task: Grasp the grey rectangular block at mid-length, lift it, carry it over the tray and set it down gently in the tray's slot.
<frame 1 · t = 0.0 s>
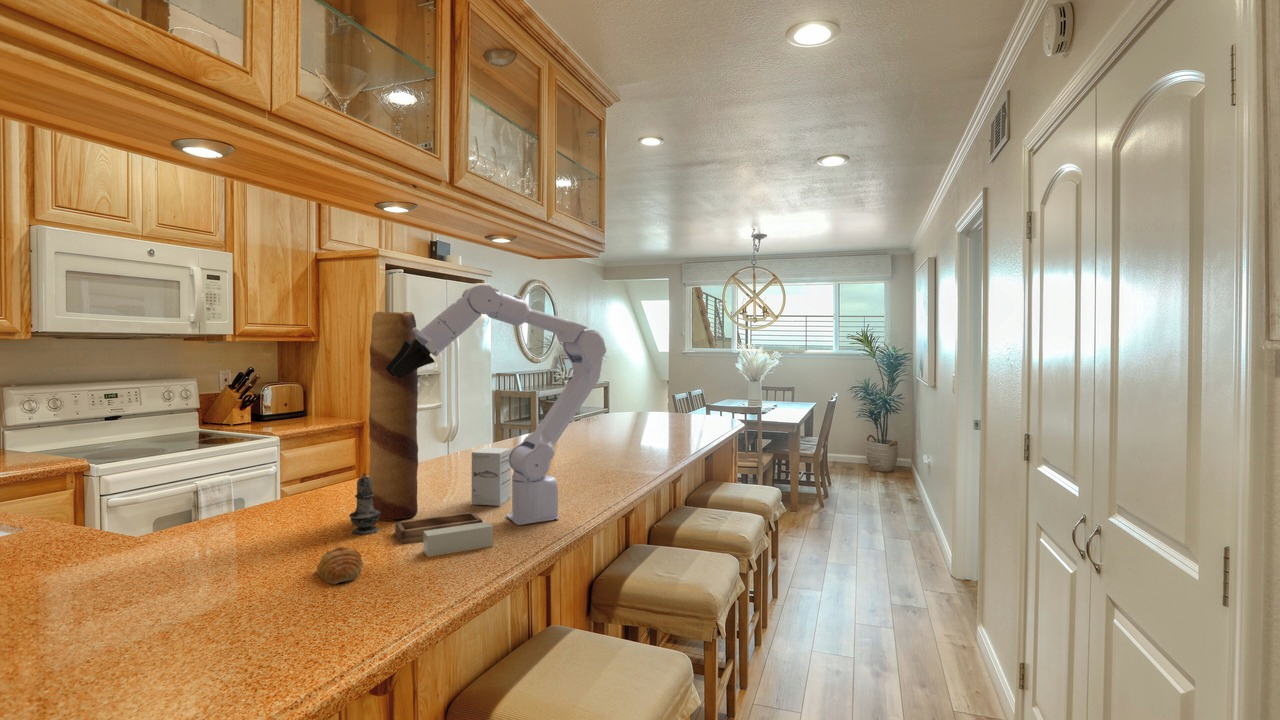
hand: (391, 373, 122), 32 cm above the countertop, tool tilted 50°, fingers open, 7 cm apart
supplement box: (491, 502, 151), on the countertop
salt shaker: (365, 532, 128), on the countertop
tray: (439, 531, 127), on the countertop
pastry: (342, 575, 105), on the countertop
wafer roll: (394, 516, 139), on the countertop
grey rectangular block: (458, 549, 117), on the countertop
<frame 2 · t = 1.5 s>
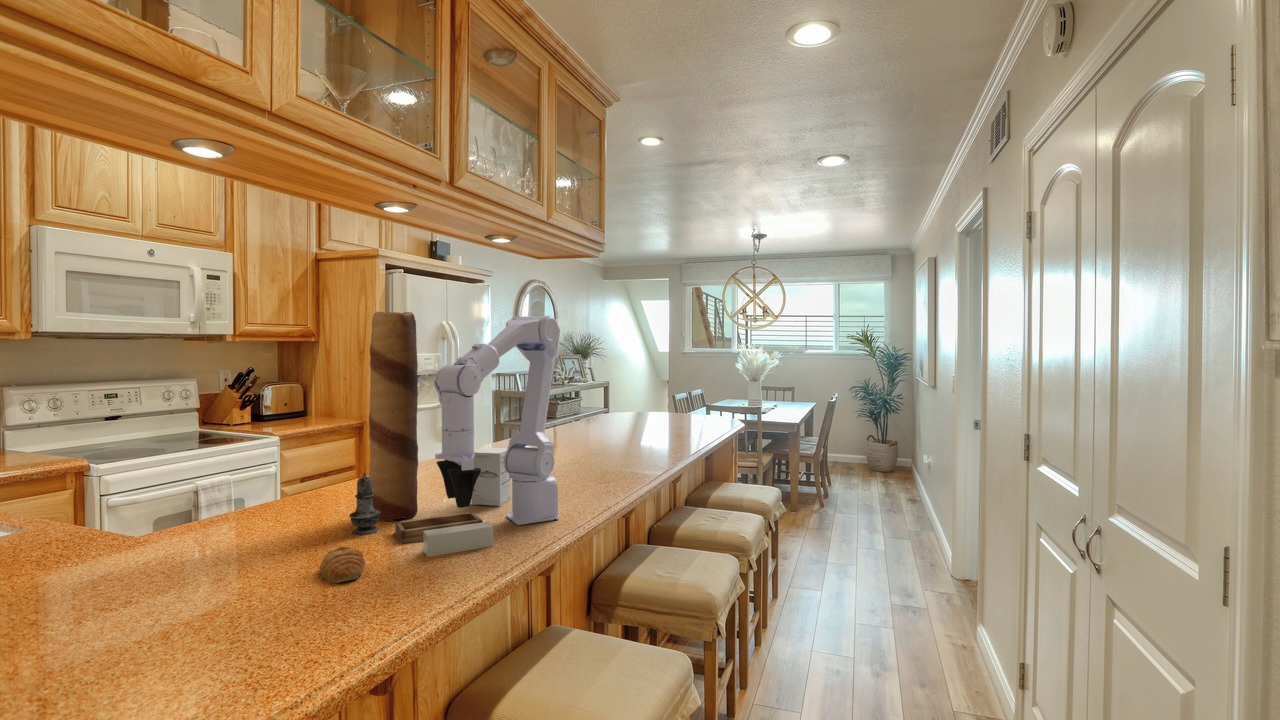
hand: (458, 502, 117), 9 cm above the countertop, tool pointing down, fingers open, 7 cm apart
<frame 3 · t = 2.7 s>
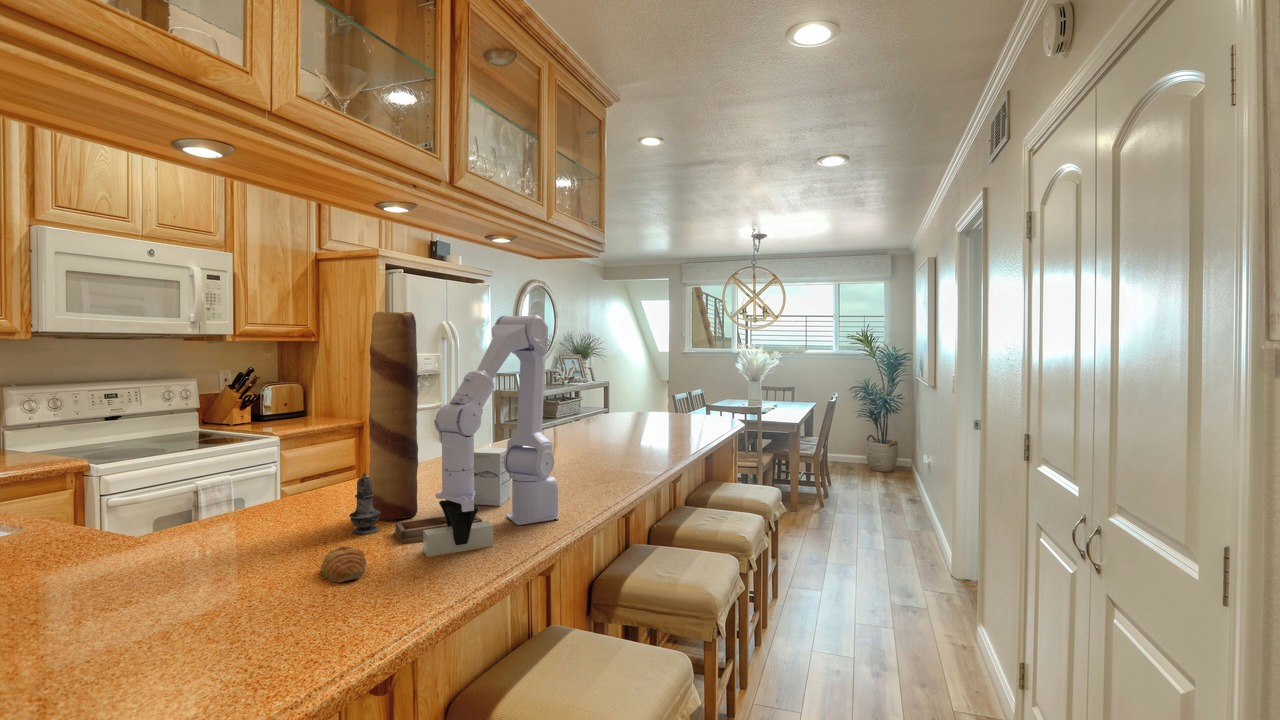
hand: (458, 540, 117), 1 cm above the countertop, tool pointing down, fingers closed on grey rectangular block, 3 cm apart
grey rectangular block: (458, 549, 117), on the countertop, touching gripper
everything else where it was.
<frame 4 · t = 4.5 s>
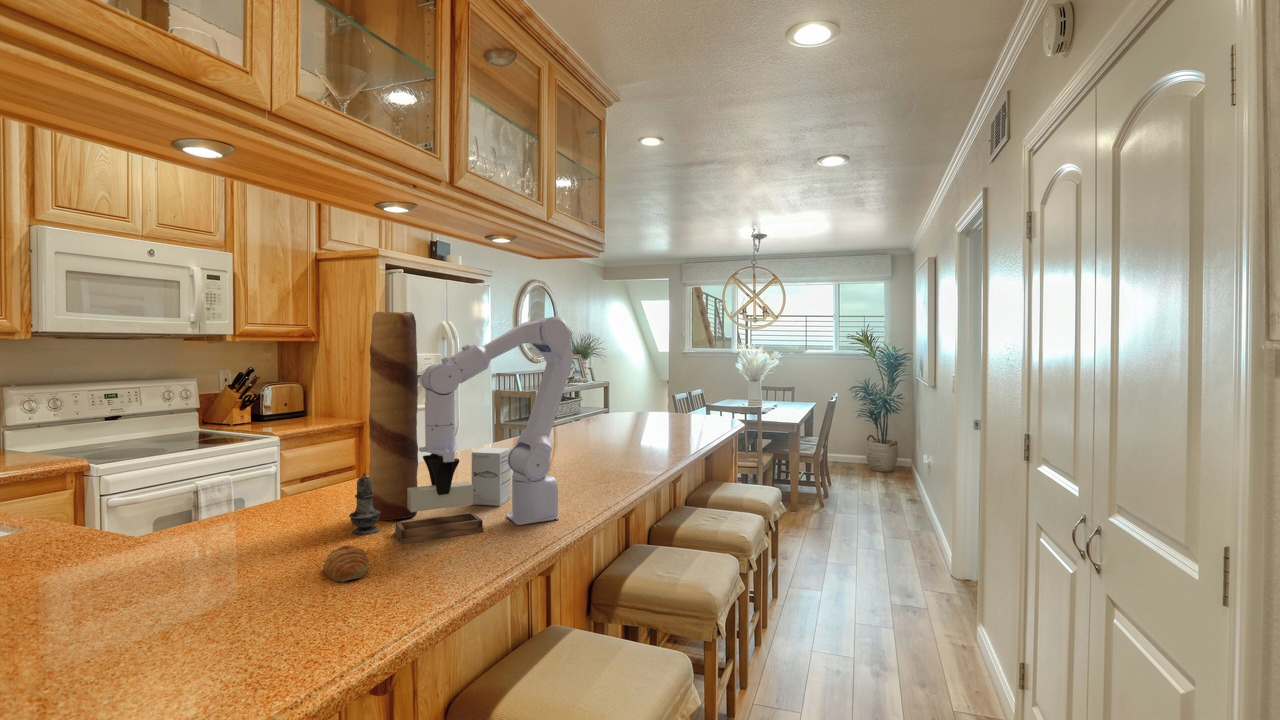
hand: (440, 492, 126), 8 cm above the countertop, tool pointing down, fingers closed on grey rectangular block, 3 cm apart
grey rectangular block: (440, 506, 126), point 6 cm above the countertop, touching gripper
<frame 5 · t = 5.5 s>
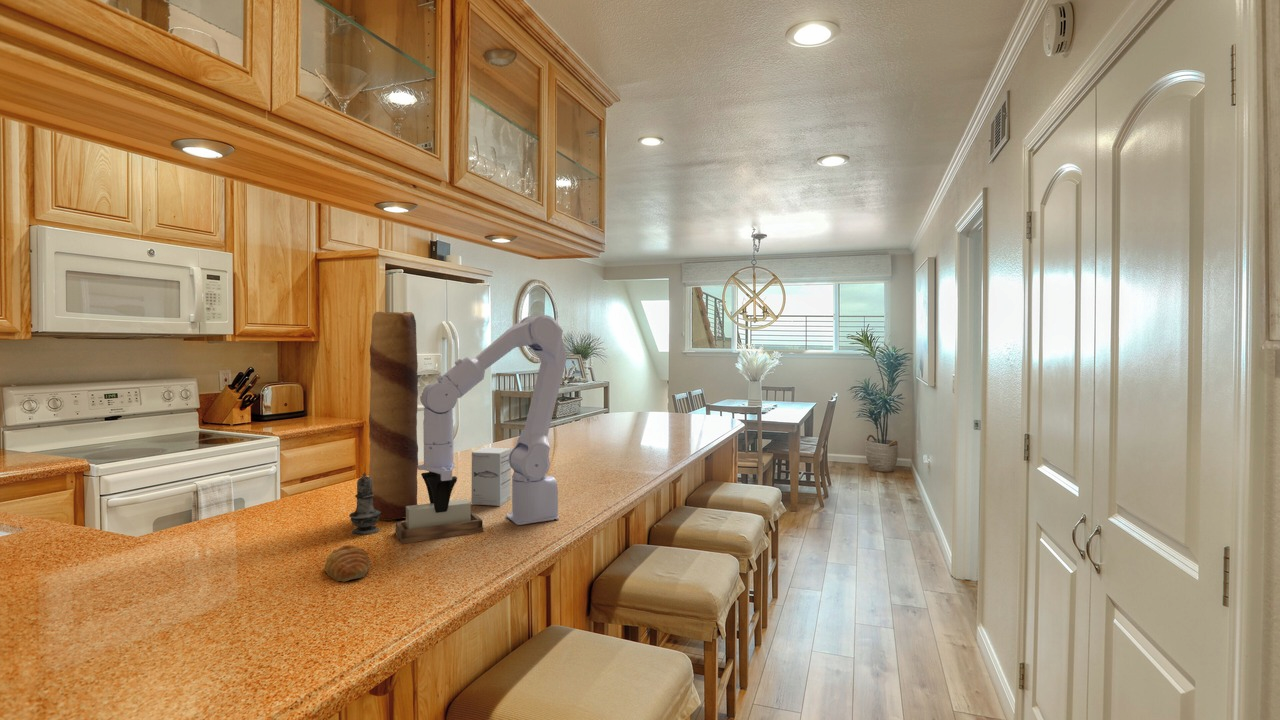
hand: (439, 509, 127), 5 cm above the countertop, tool pointing down, fingers closed on grey rectangular block, 3 cm apart
grey rectangular block: (438, 524, 127), point 2 cm above the countertop, touching gripper
when the fingers open (3 cm above the countertop, at t = 6.2 s): grey rectangular block stays where it is, resting on tray.
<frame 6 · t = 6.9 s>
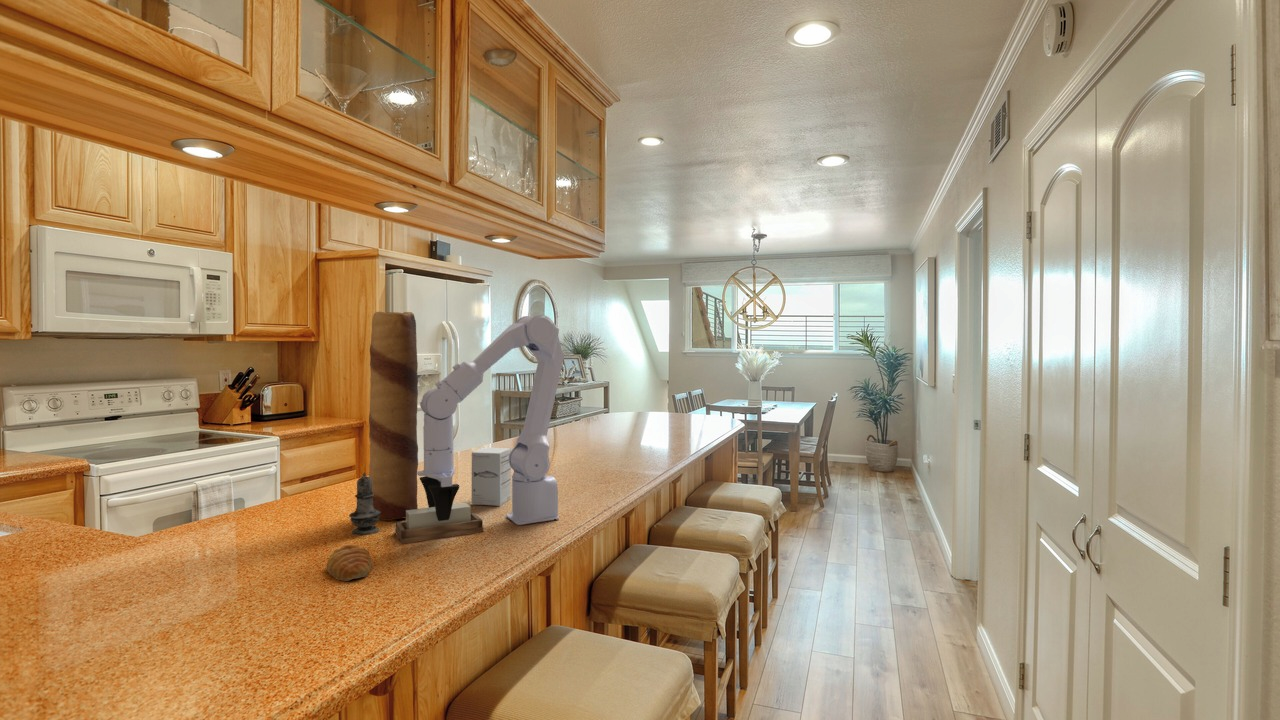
hand: (439, 515, 127), 3 cm above the countertop, tool pointing down, fingers open, 7 cm apart
grey rectangular block: (438, 528, 127), point 1 cm above the countertop, touching tray
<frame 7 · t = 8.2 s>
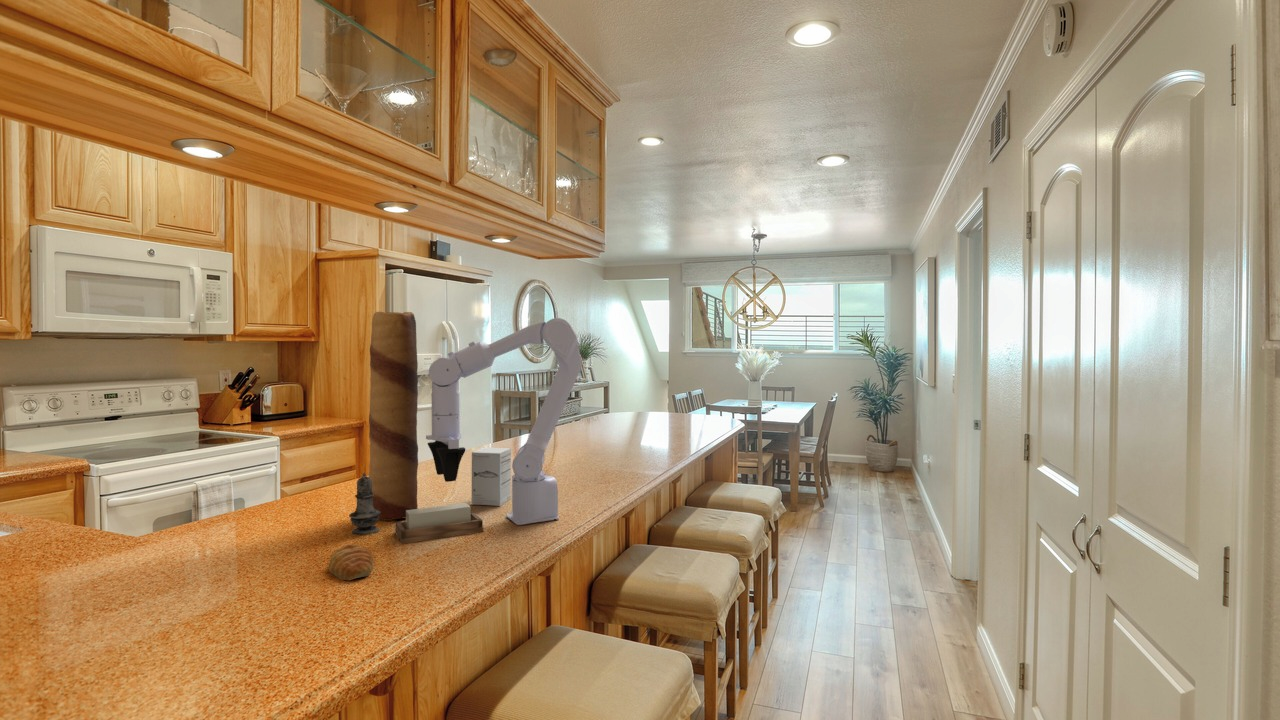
hand: (446, 477, 134), 9 cm above the countertop, tool pointing down, fingers open, 7 cm apart
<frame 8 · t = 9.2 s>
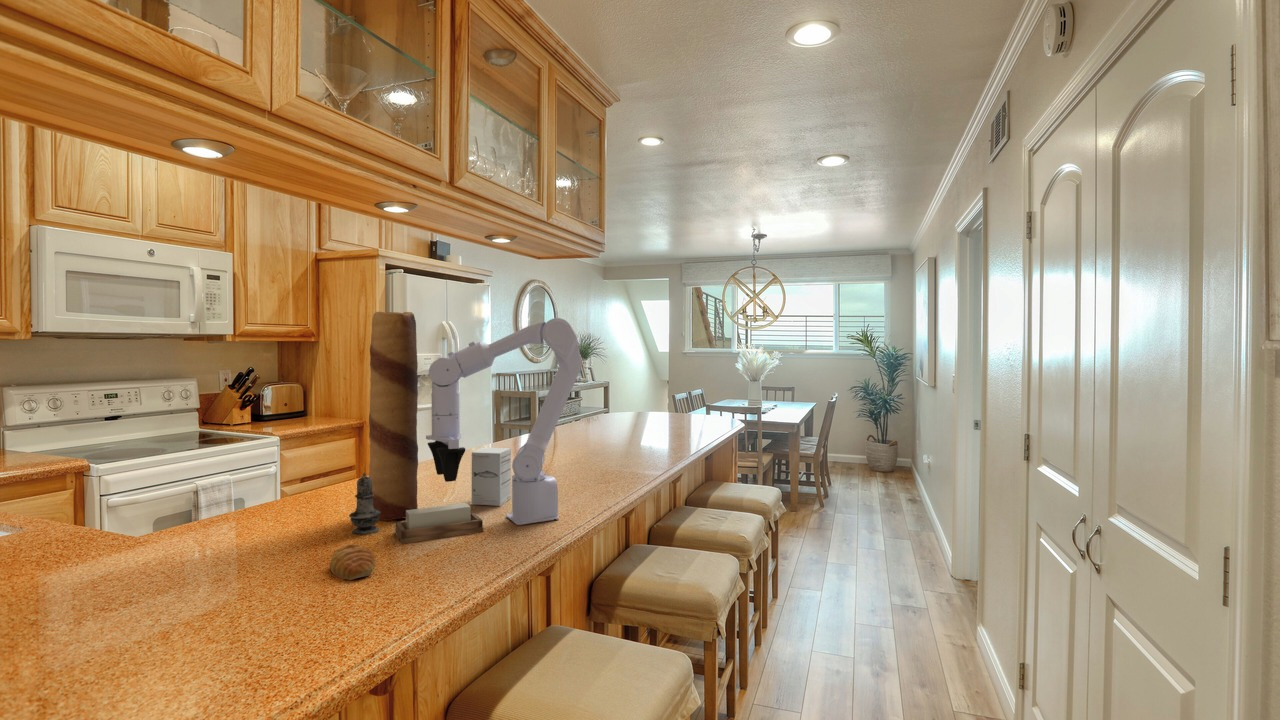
hand: (446, 477, 134), 9 cm above the countertop, tool pointing down, fingers open, 7 cm apart
at the end: grey rectangular block 0.1 cm off-centre on the tray, point 0.8 cm above the tray's base; grey rectangular block tilted 0°; the gripper is holding nothing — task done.
